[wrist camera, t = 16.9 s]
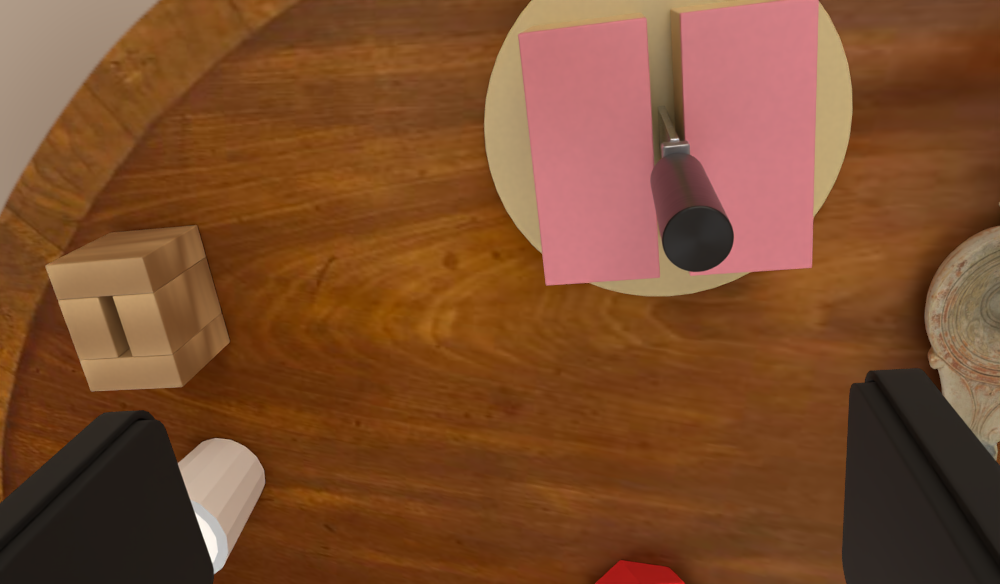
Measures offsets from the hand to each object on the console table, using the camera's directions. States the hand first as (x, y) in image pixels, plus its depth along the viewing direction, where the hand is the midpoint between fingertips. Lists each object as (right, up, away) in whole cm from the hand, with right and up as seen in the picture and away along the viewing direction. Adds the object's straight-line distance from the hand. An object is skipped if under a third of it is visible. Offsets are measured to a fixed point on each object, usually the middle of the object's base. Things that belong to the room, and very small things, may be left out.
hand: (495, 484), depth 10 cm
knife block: (-21, +3, +38) cm, 44 cm away
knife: (+9, +11, +30) cm, 33 cm away
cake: (+9, +11, +30) cm, 33 cm away
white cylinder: (-19, -10, +43) cm, 48 cm away
